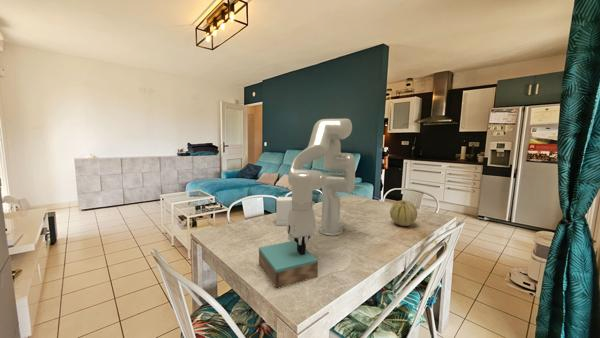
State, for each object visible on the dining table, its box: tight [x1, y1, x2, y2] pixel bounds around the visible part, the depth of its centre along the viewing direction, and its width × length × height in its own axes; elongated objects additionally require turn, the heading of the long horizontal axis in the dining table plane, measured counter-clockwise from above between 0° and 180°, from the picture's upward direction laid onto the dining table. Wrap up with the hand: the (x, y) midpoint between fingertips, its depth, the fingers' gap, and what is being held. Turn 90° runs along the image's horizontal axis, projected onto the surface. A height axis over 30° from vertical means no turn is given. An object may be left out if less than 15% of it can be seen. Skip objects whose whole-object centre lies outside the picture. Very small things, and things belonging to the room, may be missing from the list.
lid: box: [258, 240, 319, 273], centre depth 92 cm, size 16×19×1 cm
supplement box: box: [275, 196, 292, 226], centre depth 143 cm, size 9×9×15 cm
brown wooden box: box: [258, 250, 319, 289], centre depth 93 cm, size 16×19×6 cm
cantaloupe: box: [389, 199, 418, 227], centre depth 142 cm, size 15×15×15 cm
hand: (301, 253), depth 92 cm, fingers closed
